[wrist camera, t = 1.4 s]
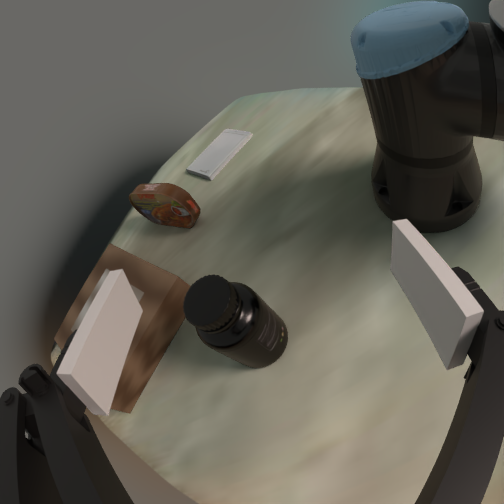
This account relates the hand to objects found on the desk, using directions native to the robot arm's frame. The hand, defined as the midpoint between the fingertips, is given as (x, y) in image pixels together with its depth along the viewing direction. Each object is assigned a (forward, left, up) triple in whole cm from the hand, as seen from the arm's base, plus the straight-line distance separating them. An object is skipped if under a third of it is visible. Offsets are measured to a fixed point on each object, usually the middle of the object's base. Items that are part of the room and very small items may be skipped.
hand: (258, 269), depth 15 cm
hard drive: (-27, -36, -21) cm, 50 cm away
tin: (-11, -35, -21) cm, 42 cm away
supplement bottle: (+1, -9, -20) cm, 23 cm away
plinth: (+9, -31, -20) cm, 39 cm away
